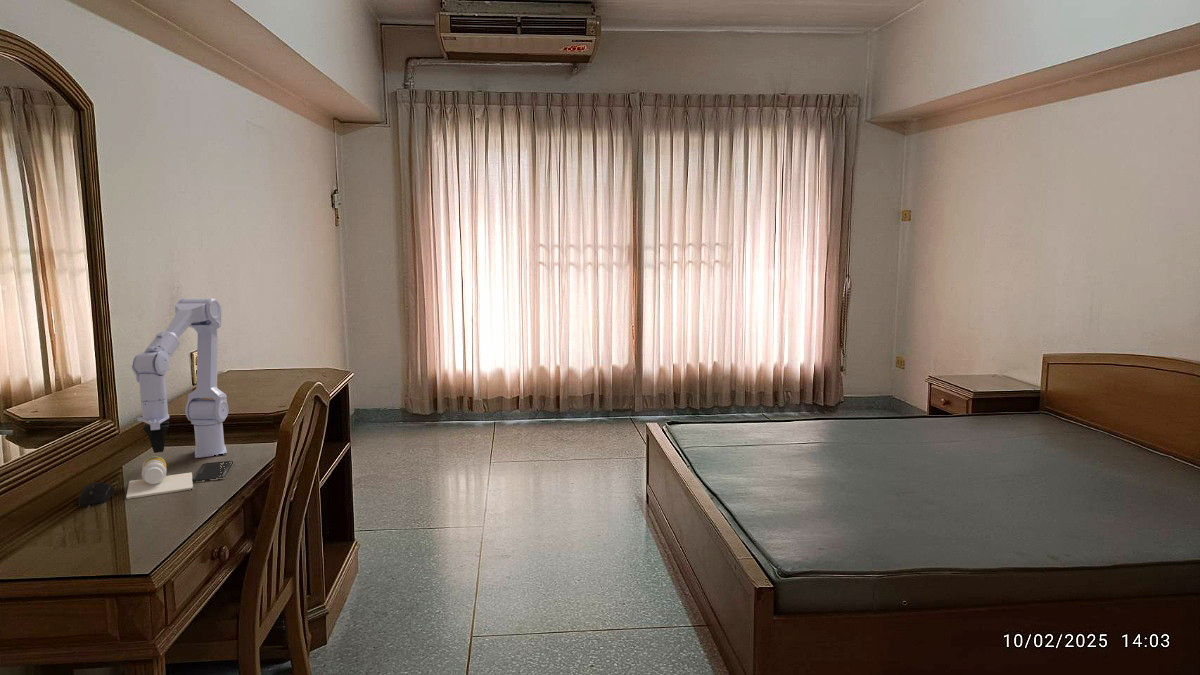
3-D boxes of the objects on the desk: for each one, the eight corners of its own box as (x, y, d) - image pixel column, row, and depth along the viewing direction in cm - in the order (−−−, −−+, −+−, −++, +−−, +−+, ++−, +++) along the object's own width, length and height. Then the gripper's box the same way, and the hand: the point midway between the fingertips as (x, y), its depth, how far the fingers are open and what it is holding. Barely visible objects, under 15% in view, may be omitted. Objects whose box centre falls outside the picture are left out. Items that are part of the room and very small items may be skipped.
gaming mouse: (69, 514, 180) (68, 497, 179) (87, 494, 193) (86, 478, 193) (102, 510, 182) (100, 493, 181) (117, 490, 196) (115, 475, 195)
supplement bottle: (159, 479, 204) (158, 490, 196) (138, 471, 202) (136, 482, 193) (170, 460, 205) (170, 470, 196) (149, 452, 202) (148, 462, 194)
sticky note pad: (129, 482, 200) (129, 480, 200) (192, 474, 207) (191, 472, 207) (126, 499, 188) (126, 497, 188) (192, 489, 194) (192, 487, 194)
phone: (234, 460, 216) (225, 476, 202) (234, 464, 216) (225, 480, 202) (202, 463, 214) (190, 479, 200) (202, 467, 214) (191, 484, 200)
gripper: (137, 396, 206) (141, 447, 207) (134, 406, 193) (139, 461, 195) (168, 393, 209) (172, 443, 211) (167, 403, 196) (172, 456, 198)
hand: (158, 451), depth 203 cm, fingers closed
